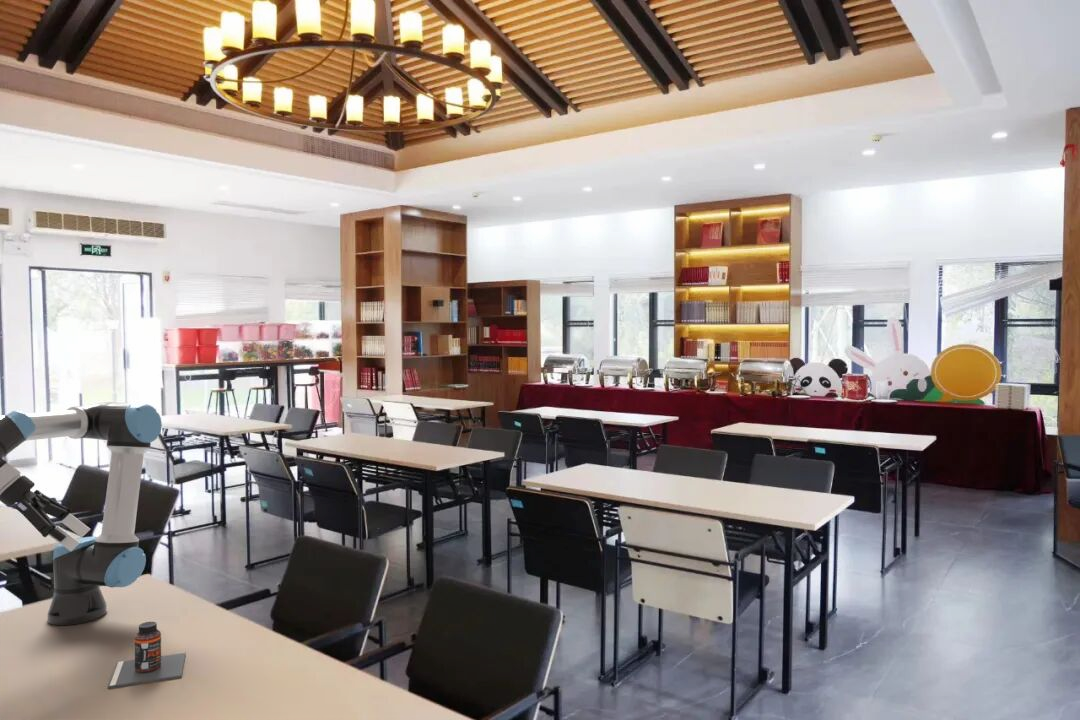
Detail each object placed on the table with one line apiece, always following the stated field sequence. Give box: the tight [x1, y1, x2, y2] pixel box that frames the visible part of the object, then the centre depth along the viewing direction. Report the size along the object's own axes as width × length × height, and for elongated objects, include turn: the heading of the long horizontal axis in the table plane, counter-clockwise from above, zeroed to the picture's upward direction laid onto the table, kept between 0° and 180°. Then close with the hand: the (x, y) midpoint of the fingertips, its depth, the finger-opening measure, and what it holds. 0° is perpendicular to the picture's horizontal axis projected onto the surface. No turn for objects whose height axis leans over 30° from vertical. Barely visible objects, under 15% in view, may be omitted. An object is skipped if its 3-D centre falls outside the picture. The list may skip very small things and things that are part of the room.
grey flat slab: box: [107, 652, 186, 690], centre depth 188 cm, size 14×16×1 cm
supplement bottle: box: [134, 621, 162, 673], centre depth 188 cm, size 6×6×11 cm
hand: (81, 540), depth 190 cm, fingers open, 13 cm apart
